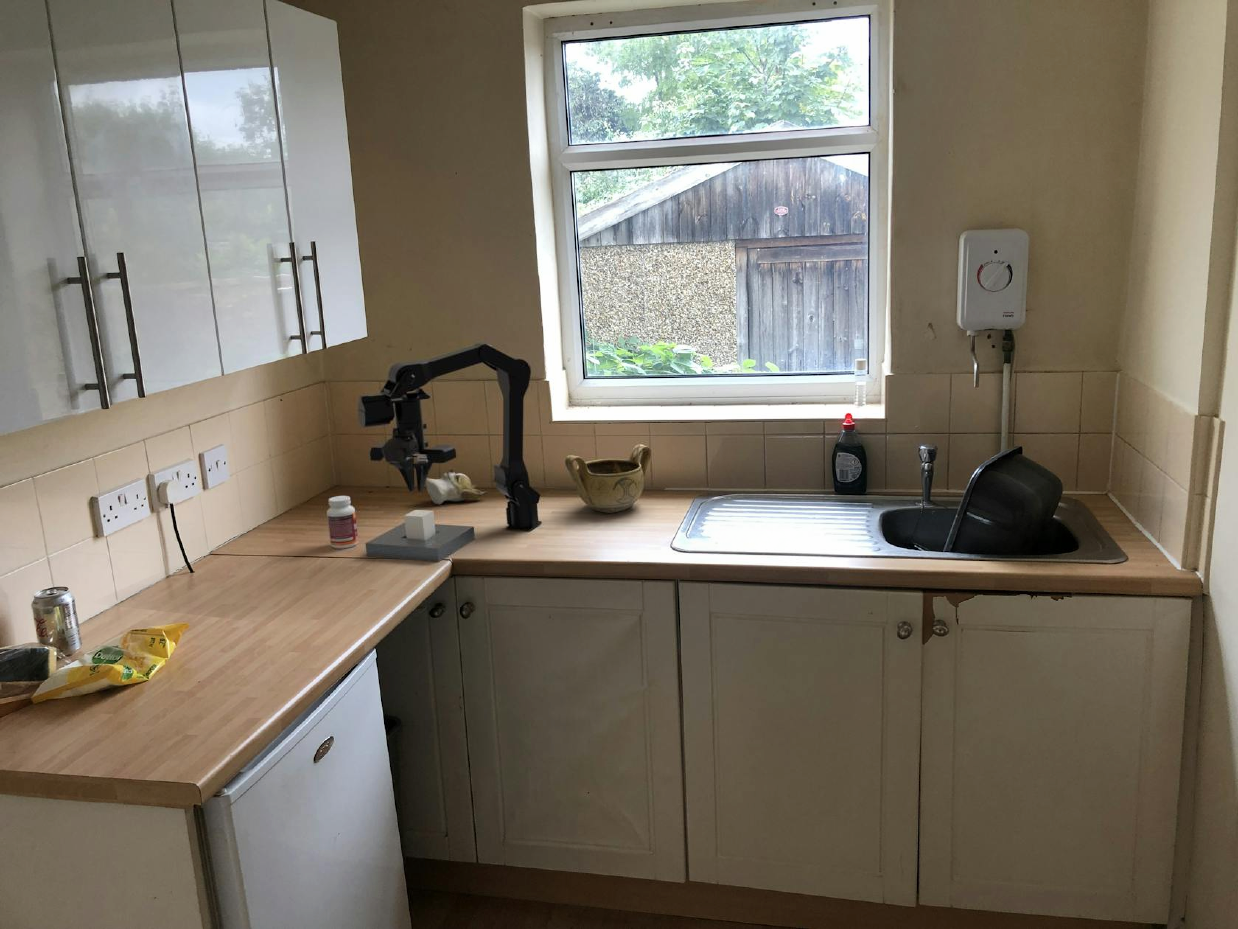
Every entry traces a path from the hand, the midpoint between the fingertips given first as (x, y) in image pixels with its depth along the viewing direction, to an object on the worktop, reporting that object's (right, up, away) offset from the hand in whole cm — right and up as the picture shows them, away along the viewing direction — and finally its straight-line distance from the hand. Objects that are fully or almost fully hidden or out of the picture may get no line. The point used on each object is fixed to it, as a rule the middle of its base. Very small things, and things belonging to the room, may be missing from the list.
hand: (416, 491), depth 218 cm
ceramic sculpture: (+2, -4, +41) cm, 41 cm away
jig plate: (+1, -13, +3) cm, 13 cm away
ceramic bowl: (+43, -5, +26) cm, 50 cm away
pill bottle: (-18, -13, +8) cm, 23 cm away
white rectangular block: (+1, -13, +3) cm, 13 cm away
